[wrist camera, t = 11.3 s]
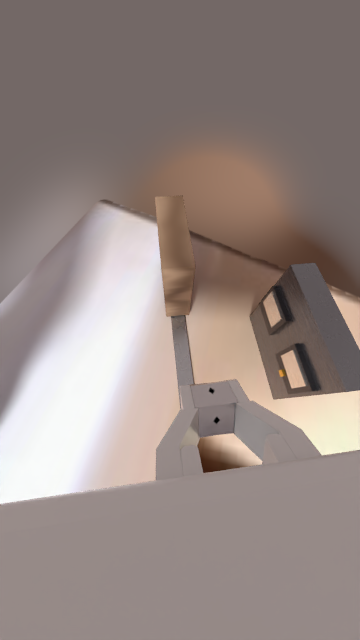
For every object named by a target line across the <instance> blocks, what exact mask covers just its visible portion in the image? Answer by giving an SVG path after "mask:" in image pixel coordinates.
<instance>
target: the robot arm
mask: <svg viewBox="0 0 360 640" xmlns="http://www.w3.org/2000/svg"><path fill="white" fill-rule="evenodd" d="M180 398H181V410H180V411H179V413H178V414H177V416H176V418H175V419H174V421H173V423H172V424H171V426H170V428H169V429H168V431H167V432H166V434H165V436H164V437H163V439H162V441H161V442H160V444H159V446H158V447H157V449H156V481H150V482H143V483H136V484H130V485H123V486H116V487H110V488H103V489H96V490H90V491H83V492H76V493H70V494H63V495H56V496H50V497H43V498H37V499H30V500H23V501H17V502H10V503H3V504H0V640H360V450H356V451H349V452H342V453H336V454H329V455H323V456H322V455H321V454H320V453H319V451H318V450H317V449H316V447H315V446H314V445H313V444H312V442H311V441H310V440H309V439H308V437H307V436H306V435H305V433H304V432H303V431H302V430H301V429H300V428H298V427H296V426H295V425H293V424H291V423H290V422H288V421H286V420H284V419H283V418H281V417H279V416H278V415H276V414H274V413H273V412H271V411H269V410H267V409H266V408H264V407H262V406H261V405H259V404H257V403H255V402H254V401H249V399H248V397H247V396H246V394H245V392H244V391H243V389H242V387H241V386H240V384H239V382H238V381H237V380H236V379H233V380H226V381H220V382H212V383H202V384H191V385H182V386H180ZM229 433H234V434H235V435H236V436H237V437H238V438H239V439H240V440H241V441H242V442H243V443H244V444H245V445H246V446H247V447H248V448H249V449H250V450H251V451H252V452H254V453H255V454H256V455H257V456H258V457H259V458H260V459H261V460H262V461H263V462H262V465H256V466H249V467H243V468H236V469H229V470H223V471H216V472H209V473H203V470H202V465H201V461H200V456H199V451H198V447H197V445H198V442H199V438H201V437H207V436H213V435H220V434H229Z"/></svg>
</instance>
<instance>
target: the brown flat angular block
mask: <svg viewBox="0 0 360 640" xmlns="http://www.w3.org/2000/svg"><path fill="white" fill-rule="evenodd" d="M155 202H156V214H157V225H158V236H159V247H160V258H161V269H162V278H163V288H164V297H165V306H166V316H167V317H168V316H178V315H189V312H190V304H191V296H192V289H193V281H194V274H195V261H194V255H193V250H192V244H191V239H190V233H189V228H188V222H187V217H186V212H185V206H184V200H183V196H165V197H155Z"/></svg>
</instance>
